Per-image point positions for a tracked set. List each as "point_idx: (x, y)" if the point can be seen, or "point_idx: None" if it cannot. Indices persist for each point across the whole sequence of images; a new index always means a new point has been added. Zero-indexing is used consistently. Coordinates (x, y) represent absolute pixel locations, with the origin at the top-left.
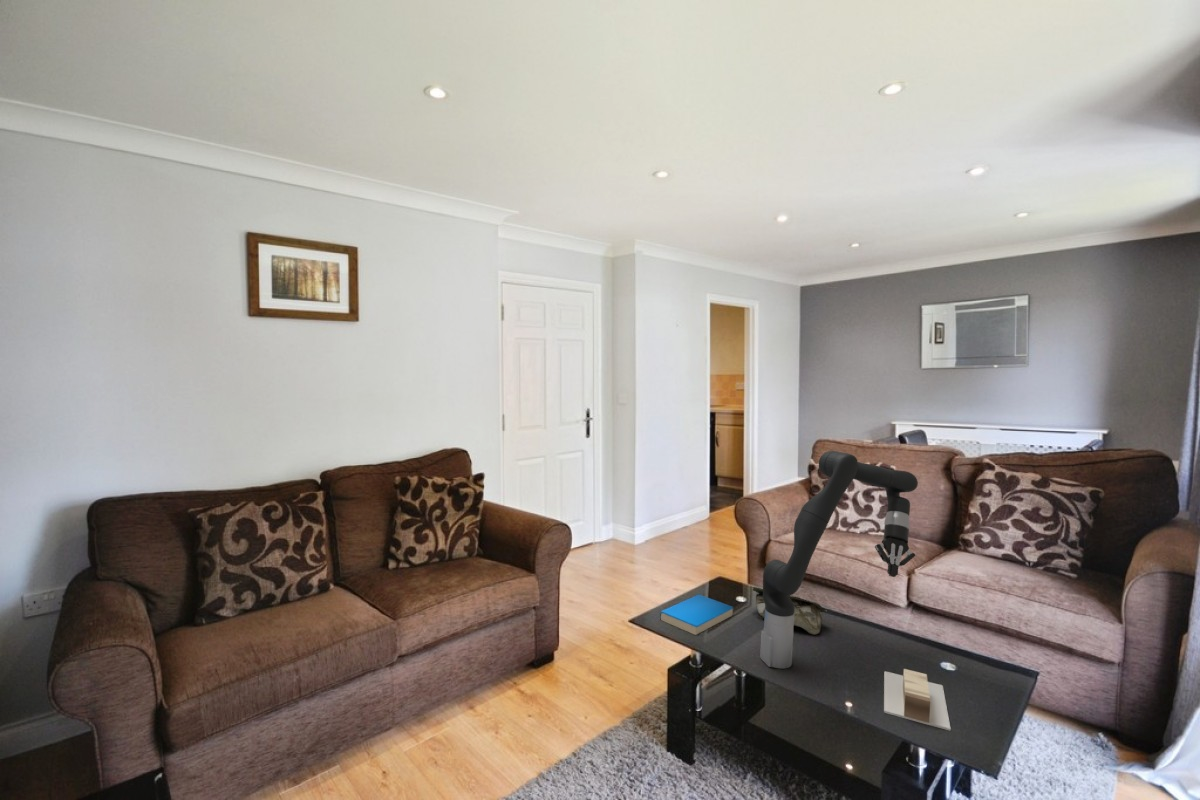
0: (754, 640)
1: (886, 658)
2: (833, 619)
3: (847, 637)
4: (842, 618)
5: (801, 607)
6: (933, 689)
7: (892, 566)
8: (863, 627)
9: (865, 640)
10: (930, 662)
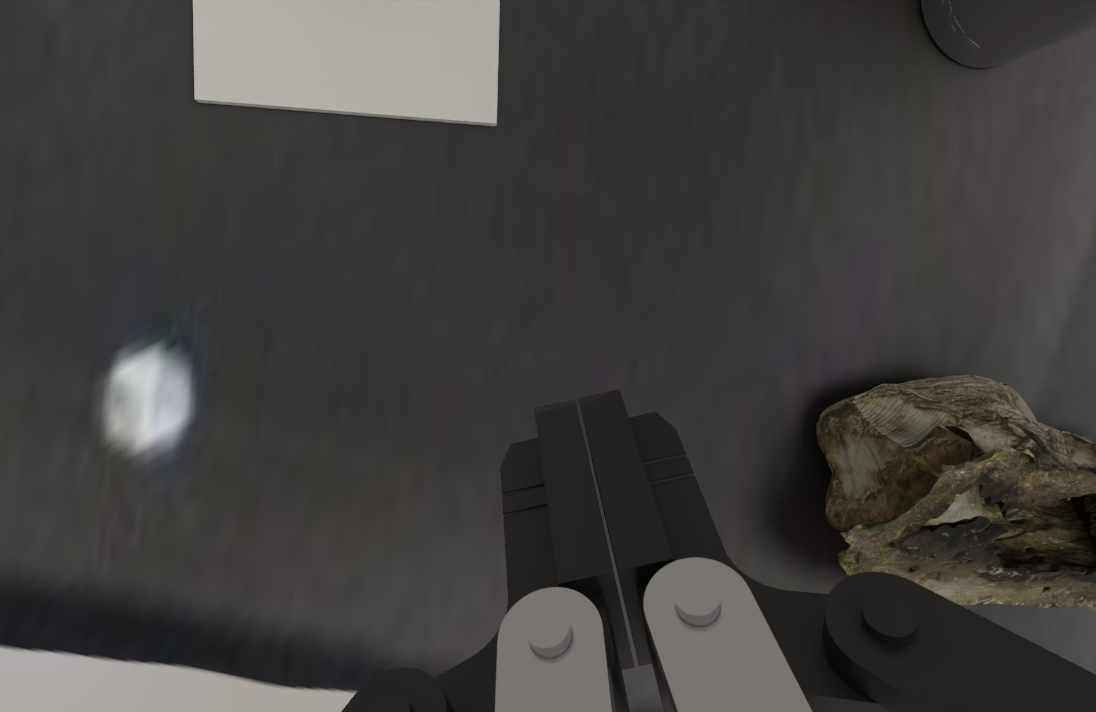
0: (1084, 179)
1: (480, 314)
2: None
3: None
4: None
5: (1008, 445)
6: (247, 23)
7: (651, 516)
8: None
9: None
10: (245, 392)
